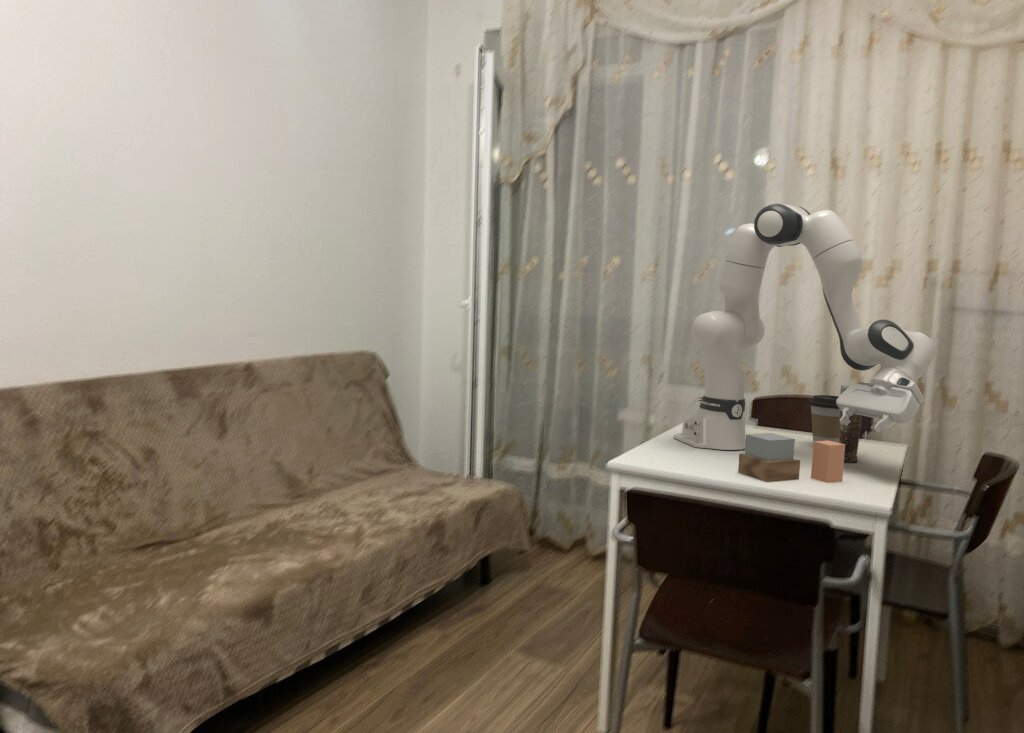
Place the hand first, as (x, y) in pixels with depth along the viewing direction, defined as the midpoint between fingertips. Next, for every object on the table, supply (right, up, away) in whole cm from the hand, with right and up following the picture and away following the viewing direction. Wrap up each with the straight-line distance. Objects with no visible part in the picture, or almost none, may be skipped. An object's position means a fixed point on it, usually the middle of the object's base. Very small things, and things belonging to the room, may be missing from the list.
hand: (858, 427), depth 194 cm
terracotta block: (-9, -12, -3) cm, 16 cm away
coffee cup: (+8, -9, +39) cm, 41 cm away
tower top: (-23, -7, -2) cm, 24 cm away
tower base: (-23, -12, -1) cm, 26 cm away
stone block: (+7, -11, +24) cm, 27 cm away
